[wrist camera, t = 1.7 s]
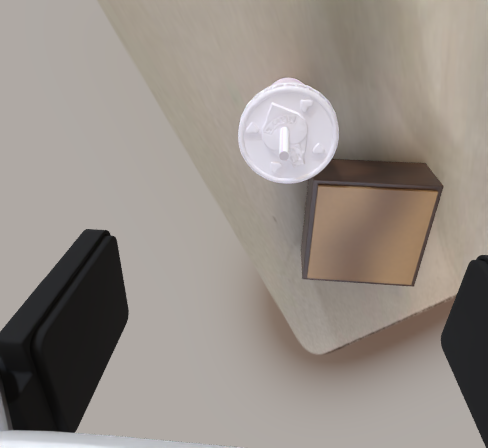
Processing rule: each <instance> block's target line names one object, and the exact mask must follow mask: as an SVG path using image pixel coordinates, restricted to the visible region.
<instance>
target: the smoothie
mask: <svg viewBox="0 0 488 448" xmlns="http://www.w3.org/2000/svg"><path fill="white" fill-rule="evenodd" d="M338 140H339V126H338V121H337V116H336V113H335V111H334V109H333V107H332V105H331V104H330V102H329V101H328V100H327V99H326V98H325V97H324V96H323V95H322V94H321V93H320V92H319V91H317V90H315V89H313V88H312V87H310V86H308V85H304V84H303V83H302V82H301V81H299V80H297V79H295V78H282V79H279V80H277V81H276V82H274V83H273V84H272V85H271V86H270V87H267V88H266V89H264V90H263V91H261V92H260V93H258V94H256V95H255V96H254V98H253V99H252V100H251V101H250V102H249V103H248V104H247V106H246V108H245V110H244V112H243V114H242V116H241V119H240V124H239V131H238V141H239V147H240V151H241V153H242V156H243V158H244V160H245V161H246V163H247V164H248V165H249V167H250V168H251V169H252V170H253V171H254V172H256V173H257V174H258V175H260V176H261V177H263V178H265V179H267V180H270V181H273V182H277V183H284V184H290V183H298V182H302V181H305V180H307V179H310V178H312V177H314V176H315V175H317V174H318V173H319V172H321V171H322V170H323V169H324V168H325V167H326V166H327V165H328V164H329V162H330V161H331V159H332V157H333V156H334V154H335V151H336V148H337V145H338Z"/></svg>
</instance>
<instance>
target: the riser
mask: <svg viewBox="0 0 488 448" xmlns="http://www.w3.org/2000/svg"><path fill="white" fill-rule="evenodd" d="M442 190H443V185H442V184H441V182H440V181H439V180H438V179H437V177H436V176H435V175H434V173H433V172H432V171H431V170H430V168H429V167H428V166H427V165H426V163H408V162H385V161H363V160H341V159H331V161H330V162H329V164H328V165H327V166H326V167H325V168H324V169H323V170H322V171H321V172H319V173H318V174H317V175H315V176H314V177H312V178H310V179H308V186H307V196H306V206H305V215H304V225H303V235H302V244H301V261H302V279H310V280H325V281H339V282H354V283H369V284H384V285H399V286H414V284H415V281H416V277H417V274H418V271H419V267H420V264H421V261H422V257H423V254H424V250H425V247H426V244H427V240H428V237H429V234H430V230H431V227H432V223H433V220H434V217H435V213H436V210H437V207H438V203H439V200H440V196H441V193H442Z"/></svg>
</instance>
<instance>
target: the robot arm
mask: <svg viewBox="0 0 488 448" xmlns="http://www.w3.org/2000/svg"><path fill="white" fill-rule="evenodd" d="M127 320H128V304H127V299H126V292H125V286H124V280H123V274H122V268H121V262H120V257H119V251H118V245H117V240H116V238H115V237H114V236H111V235H110V233H109V231H107V230H92V229H86V230H84V231H83V232H82V234H81V235H80V236H79V237H78V239H77V240H76V241H75V242H74V243H73V245H72V246H71V247H70V248H69V250H68V251H67V252H66V253H65V254H64V256H63V257H62V258H61V259H60V261H59V262H58V263H57V264H56V265H55V267H54V268H53V269H52V270H51V271H50V273H49V274H48V275H47V276H46V278H45V279H44V280H43V281H42V282H41V283H40V284H39V285H38V287H37V288H36V289H35V291H34V292H33V293H32V294H31V295H30V296H29V298H28V299H27V300H26V301H25V303H24V304H23V305H22V306H21V307H20V309H19V310H18V311H17V312H16V313H15V315H14V316H13V317H12V318H11V319H10V321H9V322H8V323H7V324H6V326H5V327H4V328H3V329H2V330H1V332H0V448H242V447H231V446H221V445H210V444H199V443H188V442H177V441H166V440H155V439H145V438H134V437H123V436H110V435H96V434H83V433H75V431H76V430H77V428H78V426H79V424H80V422H81V420H82V417H83V415H84V413H85V411H86V409H87V407H88V404H89V402H90V400H91V398H92V396H93V394H94V392H95V390H96V387H97V385H98V383H99V381H100V379H101V377H102V375H103V372H104V370H105V368H106V366H107V364H108V362H109V359H110V357H111V355H112V353H113V351H114V349H115V347H116V345H117V343H118V340H119V338H120V336H121V333H122V332H123V330H124V327H125V325H126V323H127ZM441 345H442V349H443V351H444V353H445V356H446V358H447V360H448V362H449V365H450V367H451V369H452V371H453V373H454V376H455V378H456V380H457V383H458V385H459V387H460V390H461V392H462V394H463V396H464V399H465V401H466V403H467V405H468V408H469V410H470V412H471V414H472V417H473V419H474V421H475V423H476V426H477V428H478V430H479V433H480V435H481V437H482V439H483V442H484V443H485V446H486V448H488V255H480V256H479V257H478V258H477V259H476V260H472V261H471V262H470V263H469V265H468V267H467V270H466V273H465V275H464V278H463V280H462V283H461V285H460V288H459V291H458V293H457V296H456V299H455V301H454V304H453V306H452V309H451V311H450V314H449V317H448V319H447V322H446V324H445V327H444V330H443V332H442V335H441Z"/></svg>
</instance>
